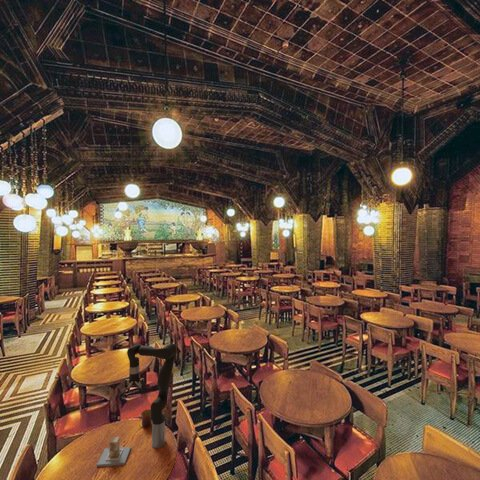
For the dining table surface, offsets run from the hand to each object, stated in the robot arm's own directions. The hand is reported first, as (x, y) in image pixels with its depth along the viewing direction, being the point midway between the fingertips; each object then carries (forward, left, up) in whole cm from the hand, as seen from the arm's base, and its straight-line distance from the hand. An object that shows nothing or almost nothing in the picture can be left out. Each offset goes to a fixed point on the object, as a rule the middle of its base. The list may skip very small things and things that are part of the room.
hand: (134, 392), depth 210 cm
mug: (-8, -12, -34) cm, 37 cm away
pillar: (+8, +20, -32) cm, 39 cm away
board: (+8, +20, -34) cm, 40 cm away
